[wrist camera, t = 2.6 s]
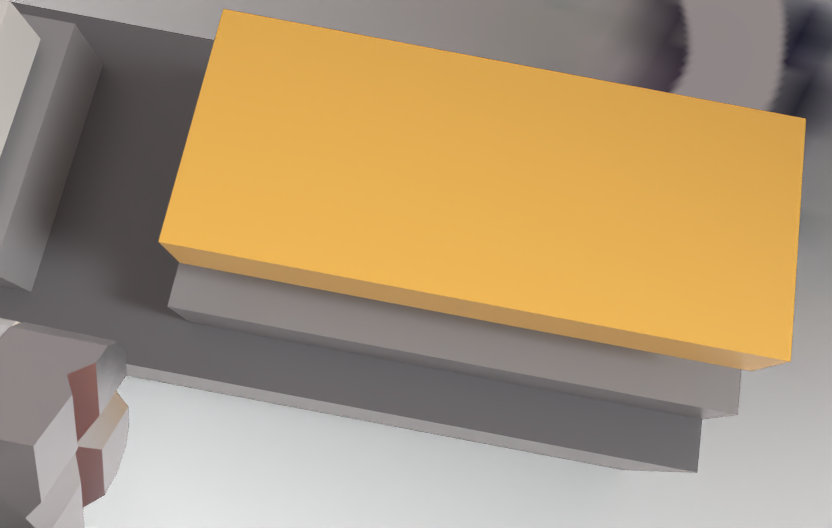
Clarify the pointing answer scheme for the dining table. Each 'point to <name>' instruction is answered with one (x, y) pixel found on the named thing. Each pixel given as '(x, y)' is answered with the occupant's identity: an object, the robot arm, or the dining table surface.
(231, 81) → the amber switch
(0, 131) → the white flat block
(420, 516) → the dining table surface
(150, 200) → the power strip
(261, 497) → the dining table surface
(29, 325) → the robot arm
